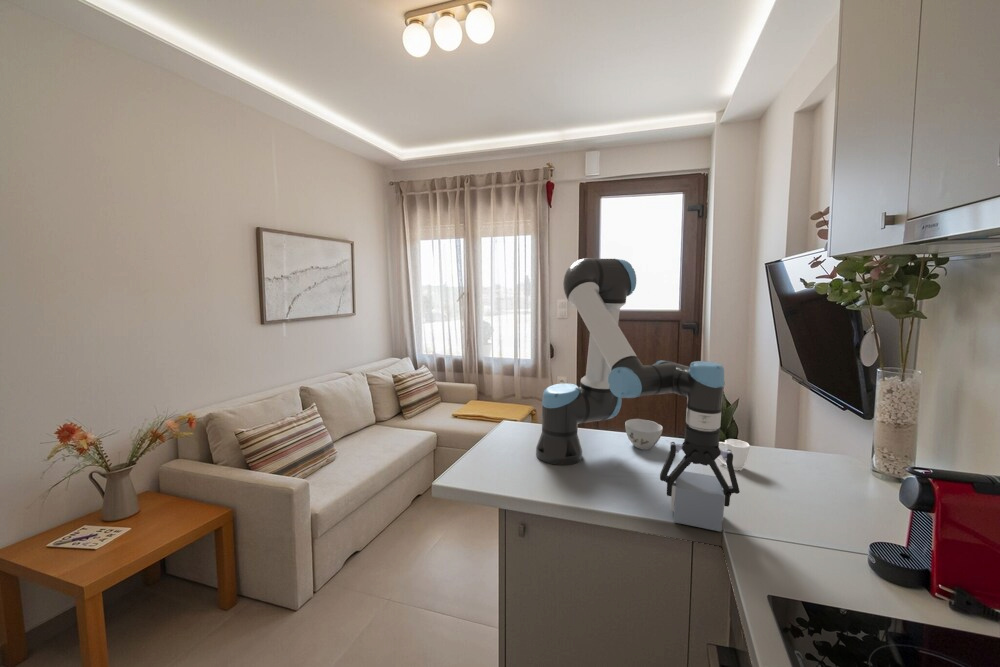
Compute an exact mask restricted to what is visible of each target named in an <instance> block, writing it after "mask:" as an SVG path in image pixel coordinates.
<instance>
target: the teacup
mask: <svg viewBox="0 0 1000 667" xmlns="http://www.w3.org/2000/svg"><path fill="white" fill-rule="evenodd" d="M624 423H625V424H624V426H625V427H624V428H625V432H626V435H627V438H628V440H629V442H631V443H632V445H633V446H634V448H636V449H641V450H651V448H653V447H654V446H655V445H656V444H657V443H658V442H659V440H660V439H661V436H662V434H663V426H662V425H661V424H659V423H658V422H656V421H653V420H647V419H641V418H630V419H628V420H626V421H625V422H624Z"/></svg>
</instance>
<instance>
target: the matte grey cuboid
mask: <svg viewBox="0 0 1000 667" xmlns="http://www.w3.org/2000/svg"><path fill="white" fill-rule="evenodd" d="M723 506H724V493H723V488H722V486H721V484H720V483H719V481H718V479H717V477H716V475H710V474H704V473H697V472H693V471H692V472H691V471H686V470H684V471H683V472H682V473H681V474H680V476H679V477H678V478H677V479H676V480H675V501H674V511H673V523H676V524H682V525H686V526H691V527H697V528H702V529H706V530H710V531H716V532H722V528H723V527H722V526H723V520H722V518H723V519H724V515H723ZM724 507H725V506H724Z"/></svg>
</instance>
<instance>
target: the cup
mask: <svg viewBox="0 0 1000 667" xmlns="http://www.w3.org/2000/svg"><path fill="white" fill-rule="evenodd" d="M719 445H723V446H724V448H725V451H727V450H731V451H732V454H733V462H732V464H733V468H734V471H738V470H740V471H743V470H744V468H743V467H745V463H746V462H747V458H748V455H749V451H750V448H751V445H750V444H749V442H747V441H743V440H741V439H734V438H728V439H725V440H724V441H719ZM716 460H718V461H719V462H720V463H721V464H723V465H724V466H726V465H727V464H726V462H725V461H723V460H722V459H721V458H720V456H718V457H717V458H716ZM742 469H743V470H742Z"/></svg>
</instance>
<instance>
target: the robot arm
mask: <svg viewBox="0 0 1000 667" xmlns="http://www.w3.org/2000/svg"><path fill="white" fill-rule="evenodd" d="M636 286H637V274H636V271H635V269H634V268H633V266H632V264H631V263H630V262H628V261H627V260H625V259H618V258H591V257H585V258H581V259H578V260H576V261H574V262H573V263H572V264H570V265H569V266H568V268H567V270H566V272H565V274H564V276H563V291H564V295H565V297H566V299H567V301H568V303H569V304H570V305H571V306H572V307H575V308H576V310H577V311H578V313H579V315H580V317H581V318H582V321H583V322H584V325H585V326H586V328H587V330H588V331H589V340H588V348H587V349H588V351H587V361H586V369H585V370H586V371H585V375H584V376H583V377H581V378H580V382H579V383H580V384H579V386H578V385H577V384H573V383H569V382H566V383H561V382H560V383H556V384H555V383H554V384H552V385H549V386H547V387H546V388H545V389H544V390H543V392H542V393H543V394H542V400H541V405H542V406H541V408H542V409H541V410H542V412H541V414H542V415H541V416H542V418H541V434H540V436H539V439H538V441H537V445H536V447H535V448H536V449H535V450H536V451H535V456H536V457H537V458H538V459H539V460H541V461H543V462H545V463H547V464H552V465H555V466H556V465H558V466H559V465H560V466H567V465H568V466H569V465H573V464H577V463H579V462H580V461H581V460H582V458H583V448H582V445H581V442H580V439H579V434H578V426H579V424H583V423H584V424H586V423H592V422H598V421H601V422H603V421H606V420H611V419H613V418H615V417H616V416H617V415H618V414H619V412H620V410H621V407H622V399H634V398H635V399H636V398H637V397H638V398H639V397H645V396H655V395H656V396H657V395H664V394H676V395H679V396H682V397H685V398H687V399H686V411H685V412H686V413H685V414H686V416H685V423H686V425H685V426H684V427H685V428H684V440H683V442H682V443H681V444H680V443H675V442H674V441H671V442H670V443H669V445H670V446H669V447H670V448H669V449H670V450H669V453H668V454H667V457H666V459H665V462H664V464H663V466H662V468H661V471H660V472H659V473H660V474H659V479H660V481H661V482H665V483H666V496H668V497H670V511H672V512H674V501H675V480H676V479H677V478H678V477H679V476H680V474H681V473H682V472H683V471H686V470H685V469H686V468H688V467H689V466H690V464H694V465H702V466H709V467H710V468H711V470H712V472H713V474H714V476H716V477H717V479H718V481H719V483H720V484H721V486H722V489H723V493H724V506H723V516H724V511H725V507H728V508H729V506H730V504H731V496H732V494H737V495H738V494H739V493H741V492H740V491H741V490H740V487H739V483H738V479H737V476H736V473H735V470H734V468H733V464H732V462H733V454H732V451H731V450H727V451H726V449H721V448H720V444H719V442H720V435H721V430H720V428H721V420H722V418H721V417H722V410H723V409H722V405H723V396H724V388H725V384H726V382H725V368H724V365H722V364H720V363H718V362H713V361H705V360H704V361H703V360H696V361H695V360H694V361H692V362H691V363H690V364H689V366H688V365H684V364H680V363H678V362H677V363H676V362H674V361H670V360H657V361H656V362H654V363H653V364H647V365H646V364H645V365H643V364H642V361H641V360H640V359H639V357H638V356H637V354H636V352H635V351H634V349H633V348H632V346H631V344H630V343H629V341H628V339H627V338H626V336H625V334H624V333H623V331H622V330H621V328H620V326H619V321H620V312H621V308H622V307H624V305H626V303H627V297H630V295H633V292H634V291H635V289H636V288H637V287H636ZM681 450H682V452H683V453H684V454H685V455H684V456H683V458H682V459H681V460H680V462H679V463H678V464H677V465H676V466H675V467H674V469H673V470H672V471H671V473H669V471H670V470H671V467H672V465H673V462H674V460H675V459H676V458H675V457H676V454H679V453H680V451H681ZM720 456H721V457H722V459H723V460H724V461H725V463H726V464H727V466H726V467H727V468H726V469H727V471H728V475H729V478H730V479H729V480H730V483H731V485H729V484H728V483H727V481H726V479H725V477H724V475H723V473H722V471H721V470H720V468H719V466H718V465H717V462H716V460H717V457H720ZM668 473H669V475H668ZM722 521H724V517H723V518H722Z"/></svg>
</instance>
